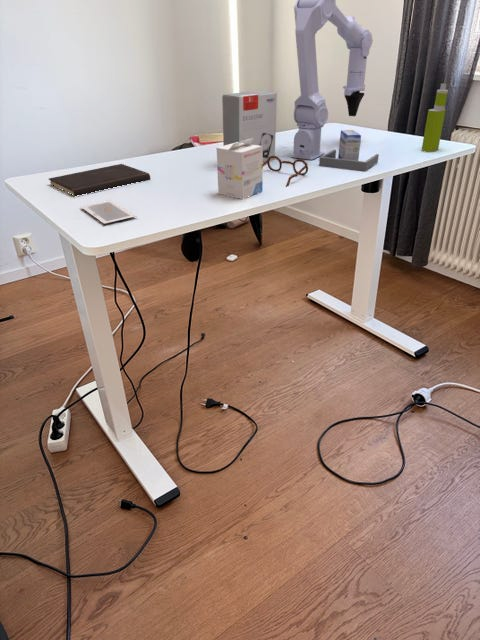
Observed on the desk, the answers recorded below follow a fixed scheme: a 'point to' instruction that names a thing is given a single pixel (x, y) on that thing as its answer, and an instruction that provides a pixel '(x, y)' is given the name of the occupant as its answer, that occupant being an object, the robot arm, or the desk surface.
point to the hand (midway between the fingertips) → (352, 115)
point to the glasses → (288, 163)
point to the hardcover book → (99, 179)
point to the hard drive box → (251, 119)
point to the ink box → (240, 169)
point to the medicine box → (349, 145)
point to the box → (347, 162)
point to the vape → (435, 122)
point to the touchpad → (107, 211)
